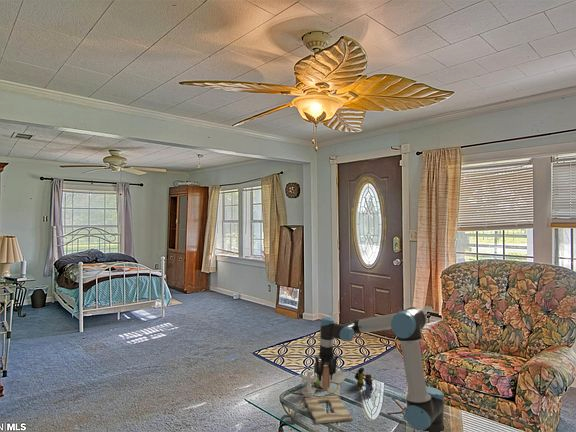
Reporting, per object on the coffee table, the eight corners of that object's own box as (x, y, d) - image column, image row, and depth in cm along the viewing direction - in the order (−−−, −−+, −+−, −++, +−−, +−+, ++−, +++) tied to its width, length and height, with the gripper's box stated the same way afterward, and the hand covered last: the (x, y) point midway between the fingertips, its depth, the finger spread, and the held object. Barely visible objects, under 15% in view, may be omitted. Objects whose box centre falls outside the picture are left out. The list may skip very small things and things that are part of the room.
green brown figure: (328, 392, 233) (328, 369, 232) (311, 389, 236) (312, 366, 235) (331, 384, 243) (331, 362, 242) (315, 382, 246) (316, 360, 245)
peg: (329, 388, 215) (330, 367, 215) (322, 389, 214) (323, 368, 214) (327, 385, 219) (327, 364, 219) (320, 385, 218) (321, 365, 218)
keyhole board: (352, 420, 202) (352, 417, 202) (316, 423, 198) (316, 421, 198) (337, 398, 226) (337, 395, 226) (304, 400, 221) (304, 398, 221)
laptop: (339, 385, 243) (340, 364, 243) (322, 380, 249) (322, 360, 249) (349, 374, 259) (350, 355, 258) (332, 370, 265) (333, 351, 265)
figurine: (303, 391, 233) (304, 367, 232) (318, 394, 229) (318, 370, 229) (299, 396, 226) (300, 371, 226) (314, 400, 222) (315, 374, 222)
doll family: (381, 398, 227) (382, 376, 227) (369, 401, 223) (370, 378, 223) (360, 381, 248) (360, 361, 248) (348, 383, 245) (348, 363, 244)
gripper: (338, 342, 221) (336, 381, 222) (310, 343, 218) (308, 383, 218) (343, 346, 214) (341, 387, 215) (314, 348, 210) (312, 389, 211)
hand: (325, 385), depth 217 cm, fingers closed on peg, 4 cm apart
